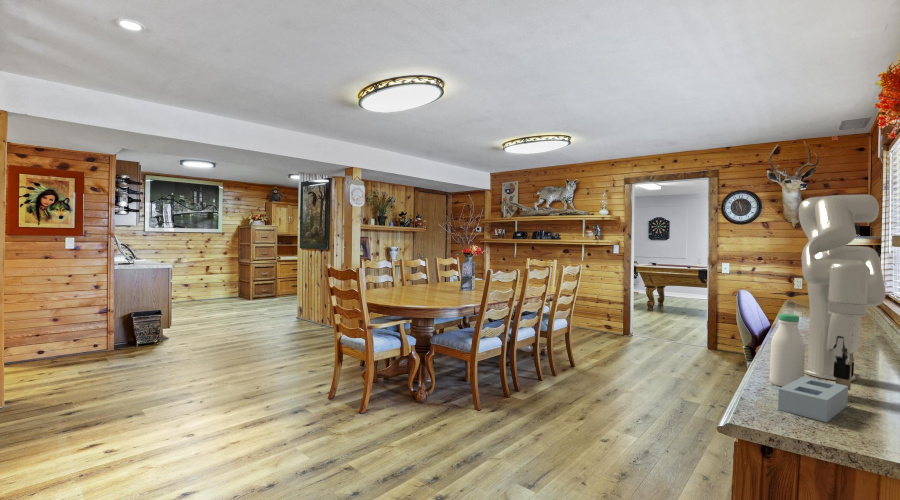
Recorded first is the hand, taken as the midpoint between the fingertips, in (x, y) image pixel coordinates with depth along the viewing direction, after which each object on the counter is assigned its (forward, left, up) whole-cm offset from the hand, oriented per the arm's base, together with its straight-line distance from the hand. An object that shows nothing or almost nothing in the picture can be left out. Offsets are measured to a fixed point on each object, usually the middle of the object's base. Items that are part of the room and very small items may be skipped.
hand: (843, 376), depth 117 cm
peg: (0, 0, -3) cm, 3 cm away
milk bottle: (+3, -12, -5) cm, 13 cm away
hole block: (+19, -2, -5) cm, 20 cm away
